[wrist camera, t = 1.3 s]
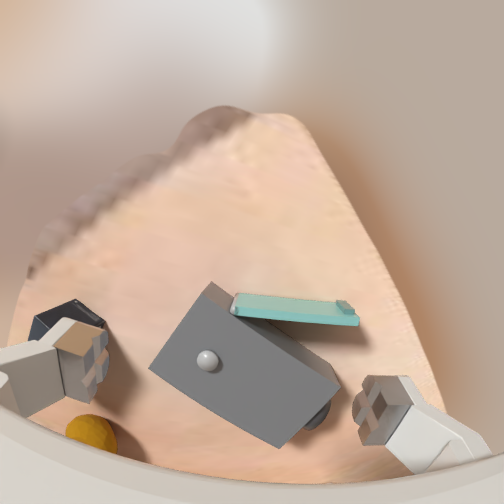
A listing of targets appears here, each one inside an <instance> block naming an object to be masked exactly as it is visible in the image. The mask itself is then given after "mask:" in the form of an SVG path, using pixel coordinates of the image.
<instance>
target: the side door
mask: <svg viewBox="0 0 504 504" xmlns="http://www.w3.org/2000/svg"><path fill="white" fill-rule="evenodd" d="M230 312H231V314H233V315H239V316H248V317H257V318H266V319H276V320H286V321H297V322H308V323H320V324H333V325H348V326H358V325H359V320H360V317H359V316H358V315H357V314H356V313H355V310H354V309H353V308H352V307H351V306H350V305H349V304H348V303H347V302H346V301H341V300H337V301H336V303H333V302H322V301H311V300H301V299H291V298H281V297H271V296H262V295H253V294H244V293H237V294H236V295H235V298H234V300H233V303H232V306H231V308H230Z"/></svg>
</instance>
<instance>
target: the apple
mask: <svg viewBox="0 0 504 504" xmlns="http://www.w3.org/2000/svg"><path fill="white" fill-rule="evenodd" d="M66 437H69V438H71V439H74V440H76V441H79V442H82V443H84V444H87V445H90V446H93V447H95V448H98V449H101V450H104V451H107V452H110V453H113V454H117V450H118V448H117V440H116V438H115V435H114V433H113V430H112V428H111V426H110V424H109V423H108V422H107V420H105V419H104V418H102V417H100V416H97V415H93V414H86V415H81V416H78V417H76V418H74V419H73V420H72V421H71V422H70V423H69V424H68V425H67V428H66Z"/></svg>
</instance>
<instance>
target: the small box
mask: <svg viewBox="0 0 504 504" xmlns="http://www.w3.org/2000/svg"><path fill="white" fill-rule="evenodd" d="M64 317H67V318H70V319H73V320H76V321H78V322H82V323H85V324H88V325H92V326H95V327H98V328H101V329H102V327H103V325H104V323H105V321H104V320H103V319H102V318H100V317H99V316H97V315H96V314H95V313H93V312H92V311H91V310H89V309H88V308H87V307H86V306H84V304H82V303H81V302H79V301H78V300H77V299H74V300H71V301H69V302H67V303H64V304H62V305H60V306H57V307H55V308H52V309H50V310H48V311H45V312H43V313H41V314H38V315H35V316H34V319H33V322H32V326H31V330H30V334H29V338H28V341H32V340H36V341H39V340H40V339H41V338H42V337H43V336H44V335H45V334H46V333H47V332H48V331H49V330H50V329H51V328H52V327H53V326H54V325H55V324H56V323H57V322H58V321H59V320H60V319H61V318H64Z"/></svg>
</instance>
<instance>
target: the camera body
mask: <svg viewBox="0 0 504 504" xmlns="http://www.w3.org/2000/svg"><path fill="white" fill-rule="evenodd" d="M233 300H234V297H232V296H231V295H229V294H228V293H227V292H225V291H224V290H223V289H221V288H220V287H218V286H217V285H216V284H214V283H213V282H212V281H211V283H210V284H209V285H208V286H207V287H206V288H205V290H204V291H203V292H202V293H201V294H200V296H199V297H198V299H197V300H196V301H195V303H194V304H193V306H192V307H191V308H190V310H189V311H188V313H187V314H186V315H185V317H184V318H183V320H182V321H181V323H180V324H179V325H178V327H177V328H176V330H175V331H174V332H173V334H172V335H171V337H170V338H169V339H168V341H167V342H166V344H165V345H164V347H163V348H162V349H161V351H160V352H159V354H158V355H157V357H156V358H155V359H154V361H153V362H152V364H151V365H150V367H149V368H148V369H150V370H151V371H152V372H154V373H155V374H156V375H158V376H159V377H161V378H162V379H163V380H165V381H166V382H168V383H169V384H171V385H172V386H174V387H175V388H176V389H178V390H179V391H181V392H182V393H184V394H185V395H187V396H188V397H190V398H191V399H193V400H195V401H196V402H198V403H199V404H201V405H202V406H204V407H206V408H207V409H209V410H210V411H212V412H214V413H215V414H217V415H219V416H220V417H222V418H224V419H225V420H227V421H229V422H230V423H232V424H234V425H236V426H237V427H239V428H241V429H243V430H244V431H246V432H248V433H250V434H252V435H253V436H255V437H257V438H259V439H261V440H263V441H265V442H267V443H268V444H270V445H272V446H274V447H276V448H278V449H280V448H281V447H282V446H283V445H284V444H285V443H286V442H288V441H289V440H290V439H291V438H292V437H293V436H294V435H295V434H296V433H297V432H298V431H299V430H300V429H301V428H304V429H306V430H312V429H314V428H316V427H317V426H318V425H320V424H321V423H322V421H323V420H324V419H325V417H326V416H327V414H328V412H329V409H330V406H331V398H332V397H333V396H334V395H335V393H336V392H337V391H338V390H339V389H340V388H341V386H340V384H339V382H338V380H337V378H336V376H335V373H334V371H333V369H332V367H331V365H330V364H329V363H328V362H326V361H325V360H323V359H322V358H320V357H319V356H317V355H316V354H314V353H313V352H311V351H310V350H308V349H307V348H305V347H304V346H302V345H301V344H299V343H298V342H297V341H295V340H294V339H292V338H291V337H289V336H288V335H286V334H285V333H283V332H282V331H280V330H279V329H278V328H276V327H275V326H273V325H272V324H270V323H269V322H267V321H266V320H265V319H263V318H257V317H248V316H239V315H233V314H231V312H230V308H231V306H232V303H233Z"/></svg>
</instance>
